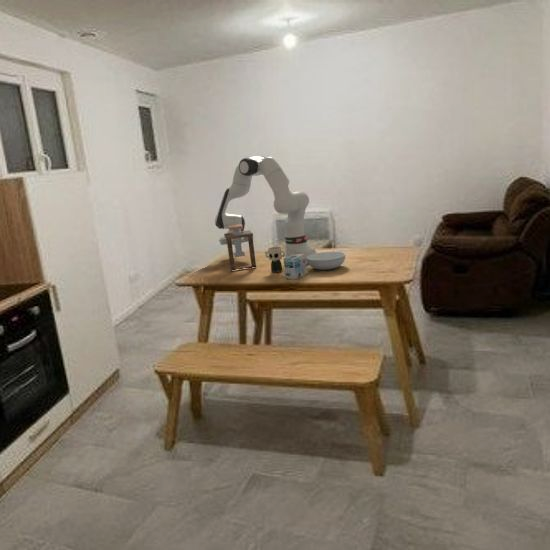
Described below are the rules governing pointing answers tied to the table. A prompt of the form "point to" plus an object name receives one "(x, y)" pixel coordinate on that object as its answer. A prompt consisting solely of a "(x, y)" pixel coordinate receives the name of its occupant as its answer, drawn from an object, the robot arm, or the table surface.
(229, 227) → the hanging peg
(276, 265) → the character mug
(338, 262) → the serving bowl
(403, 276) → the table surface
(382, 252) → the table surface
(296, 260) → the light bulb box
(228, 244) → the brown wooden frame rack
